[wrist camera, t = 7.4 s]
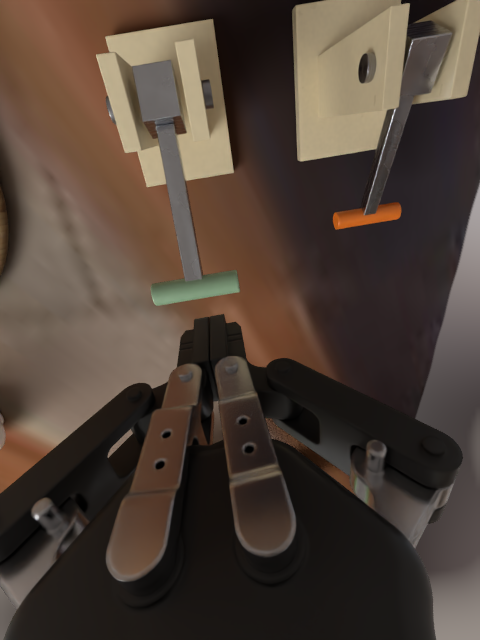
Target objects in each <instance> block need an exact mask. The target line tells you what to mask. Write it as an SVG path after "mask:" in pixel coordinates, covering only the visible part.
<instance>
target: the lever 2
mask: <svg viewBox="0 0 480 640" xmlns="http://www.w3.org/2000/svg"><path fill="white" fill-rule="evenodd" d="M451 36H452V32H450V31H449V30H447V29H445V28H444V27H442V26H440V25H438V24H437V23H435V22H433V21H431V20H430V21H424V22H418V23H412V24H408V26H407V36H406V45H405V54H404V63H403V72H402V82H401V91H400V100H399V107H398V108H395V109H388V110H387V112H386V115H385V119H384V123H383V126H382V130H381V134H380V137H379V141H378V145H377V148H376V152H375V156H374V159H373V163H372V167H371V170H370V174H369V177H368V181H367V185H366V188H365V192H364V196H363V199H362V203H361V207H360V208H359V209H353V210H347V211H341V212H335V213H334V216H333V223H334V227H335V229H341V228H347V227H353V226H359V225H365V224H371V223H377V222H383V221H389V220H395V219H398V218H399V217H400V215H401V206H400V204H399V203H398V202H395V203H389V204H383V205H379V202H380V199H381V196H382V193H383V190H384V187H385V184H386V181H387V178H388V175H389V172H390V169H391V166H392V163H393V160H394V157H395V154H396V151H397V148H398V145H399V142H400V139H401V136H402V132H403V129H404V126H405V123H406V120H407V117H408V114H409V111H410V108H411V105H412V102H413V99H414V96H416V95H422V94H428V93H431V91H432V88H433V86H434V83H435V80H436V78H437V75H438V72H439V69H440V67H441V64H442V61H443V58H444V56H445V53H446V50H447V47H448V45H449V42H450V39H451Z"/></svg>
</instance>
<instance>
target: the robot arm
mask: <svg viewBox="0 0 480 640" xmlns="http://www.w3.org/2000/svg"><path fill="white" fill-rule="evenodd" d="M179 350H180V351H179V356H178V364H177V368H176V369H174V370H173V371H172V372H171V374H170V377H169V380H168V382H167V383H165V384H163V385H161V386H158V387H156V388H153V389H151V387H150V385H148V384H146V383H137V384H133V385H131V386H129V387H127V388H126V389H124V390H123V391H122V392H121V393H119V394H118V395H117V396H116V397H115V398H113V399H112V400H111V401H110V402H109V403H108V404H106V405H105V406H104V407H103V408H102V409H100V410H99V411H98V412H97V413H96V414H94V415H93V416H92V417H91V418H90V419H89V420H87V421H86V422H85V423H84V424H83V425H81V426H80V427H79V428H78V429H77V430H75V431H74V432H73V433H72V434H71V435H70V436H68V437H67V438H66V439H65V440H64V441H62V442H61V443H60V444H59V445H58V446H56V447H55V448H54V449H53V450H52V451H51V452H49V453H48V454H47V455H46V456H45V457H43V458H42V459H41V460H40V461H39V462H38V463H36V464H35V465H34V466H33V467H32V468H30V469H29V470H28V471H27V472H26V473H24V474H23V475H22V476H21V477H20V478H19V479H17V480H16V481H15V482H14V483H13V484H11V485H10V486H9V487H8V488H7V489H5V490H4V491H3V492H2V493H1V494H0V587H1V588H2V589H3V591H4V593H5V594H6V595H7V597H8V598H9V600H10V602H11V603H12V605H13V606H14V607H15V609H16V610H17V611H16V613H15V615H14V616H13V618H12V621H11V623H10V625H9V627H8V629H7V632H6V634H5V637H4V640H436V636H435V630H434V622H433V597H432V589H431V584H430V581H429V577H428V574H427V571H426V569H425V567H424V564H423V562H422V560H421V558H420V556H419V554H418V553H417V551H416V550H415V547H416V545H417V543H418V541H419V539H420V537H421V535H422V533H423V531H424V529H425V527H426V525H427V524H430V523H434V522H436V521H438V520H439V519H440V518H441V516H442V514H443V511H444V508H445V506H446V503H447V500H448V498H449V495H450V492H451V490H452V487H453V484H454V482H455V479H456V476H457V474H458V471H459V468H460V465H461V462H462V459H463V457H462V451H461V449H460V447H459V446H458V444H457V443H456V442H455V441H454V440H453V439H452V438H451V437H449V436H448V435H446V434H445V433H443V432H441V431H439V430H437V429H434V428H432V427H430V426H428V425H426V424H424V423H422V422H420V421H418V420H416V419H414V418H412V417H410V416H408V415H406V414H404V413H401V412H399V411H397V410H395V409H393V408H391V407H389V406H387V405H385V404H383V403H381V402H379V401H377V400H375V399H373V398H370V397H368V396H366V395H364V394H362V393H360V392H358V391H356V390H354V389H352V388H350V387H348V386H346V385H344V384H342V383H340V382H337V381H335V380H333V379H331V378H329V377H327V376H325V375H323V374H321V373H319V372H317V371H315V370H313V369H311V368H309V367H306V366H304V365H302V364H300V363H298V362H296V361H294V360H292V359H287V358H280V359H276V360H274V361H272V362H270V363H269V364H268V365H267V367H257V366H254V365H252V364H250V363H249V362H248V361H247V359H246V353H245V348H244V342H243V337H242V331H241V326H239V325H238V324H237V323H236V322H232V323H226V321H225V316H224V314H222V315H216V316H210V318H209V317H205V318H199V319H195V320H194V329H193V330H187V331H185V333H184V334H183V335H182V337H181V341H180V348H179ZM214 401H218V404H219V411H220V418H221V425H222V432H223V439H224V440H222V441H220V442H217V443H215V444H213V429H214V412H213V402H214ZM265 418H272V419H273V422H274V423H275V424H276V425H277V426H278V427H280V428H281V429H283V430H284V431H285V432H287V433H288V434H290V435H291V436H293V437H294V438H296V439H297V440H298V441H300V442H301V443H303V444H304V445H306V446H307V447H308V448H310V449H311V450H313V451H314V452H316V453H317V454H319V455H320V456H321V457H323V458H324V459H326V460H327V461H329V462H330V463H332V464H333V465H334V466H336V467H337V468H339V469H340V470H342V471H343V472H344V473H346V474H347V475H349V476H350V478H349V479H350V486H351V488H352V490H353V492H354V493H355V494H356V496H355V495H354V494H353V493H351V492H350V491H349V490H348V489H346V488H345V487H344V486H343V485H341V484H340V483H339V482H337V481H336V480H335V479H334V478H332V477H331V476H330V475H328V474H327V473H326V472H325V471H323V470H322V469H321V468H319V467H318V466H317V465H316V464H314V463H313V462H312V461H310V460H309V459H308V458H307V457H305V456H304V455H303V454H301V453H300V452H299V451H298V450H296V449H295V448H293V447H292V446H290V445H288V444H286V443H284V442H281V441H278V440H274V439H271V437H270V433H269V430H268V427H267V423H266V420H265ZM130 429H131V430H132V432H133V434H132V435H131V436H130V437H129V438H128V439H127V440H126V441H125V442H124V443H123V444H122V445H121V446H120V447H119V448H118V449H117V450H116V451H115V452H114V453H113V454H112V455H111V456H110V457H109V458H107V456H108V452H109V450H110V448H111V447H112V446H113V445H114V444H115V443H116V442H117V441H118V440H119V439H120V438H121V437H122V436H123V435H124V434H125V433H126V432H128V431H129V430H130ZM212 444H213V445H212ZM358 497H359V498H360V499H361V500H360V499H359V498H358Z"/></svg>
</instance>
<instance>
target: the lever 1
mask: <svg viewBox="0 0 480 640" xmlns="http://www.w3.org/2000/svg"><path fill="white" fill-rule="evenodd" d="M132 72H133V77H134V82H135V87H136V92H137V97H138V102H139V107H140V112H141V117H142V121H143V123H144V125H145V126H146V128H147V130H148V131H149V133H150V135H151V136H152V138H153V139H156V138H158V143H159V148H160V153H161V158H162V163H163V168H164V174H165V179H166V184H167V189H168V194H169V199H170V205H171V210H172V215H173V220H174V225H175V230H176V236H177V241H178V246H179V251H180V256H181V261H182V267H183V272H184V277H185V278H184V279H178V280H172V281H166V282H160V283H154V284H152V285H151V294H152V298H153V301H154V303H155V305H157V306H159V305H165V304H170V303H176V302H182V301H188V300H194V299H200V298H206V297H212V296H218V295H224V294H230V293H236V292H240V288H239V282H238V276H237V271H236V270H232V271H226V272H220V273H214V274H208V275H203V272H202V266H201V261H200V255H199V250H198V244H197V239H196V233H195V228H194V222H193V217H192V211H191V206H190V201H189V195H188V190H187V184H186V179H185V173H184V168H183V162H182V157H181V151H180V146H179V141H178V135H180V134H186V133H187V130H186V124H185V119H184V113H183V107H182V102H181V96H180V91H179V85H178V82H177V78H176V75H175V71H174V68H173V64H172V61H171V60H166V61H160V62H154V63H148V64H142V65H136V66H132Z"/></svg>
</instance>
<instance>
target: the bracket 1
mask: <svg viewBox="0 0 480 640" xmlns="http://www.w3.org/2000/svg"><path fill="white" fill-rule="evenodd" d="M105 38H106V42H107V45H108V49H109V53H103V54H97V55H96V57H97V60H98V64H99V67H100V71H101V74H102V77H103V81H104V84H105V87H106V91H107V94H108V96H107V97H106V105H107V109H108V112H109V115H110V117H111V119H112V121H113V123H114V124H117V128H118V131H119V134H120V138H121V141H122V144H123V148H124V151H125V153H129V152H135V151H137V153H138V156H139V160H140V163H141V167H142V171H143V174H144V178H145V181H146V185H147V187H151V186H157V185H163V184H166V179H165V174H164V168H163V163H162V158H161V153H160V148H159V143H158V138H156V139H153V138H152V136H151V135H150V133H149V131H148V130H147V128H146V126H145V125H144V123H143V121H142V117H141V112H140V107H139V102H138V97H137V92H136V87H135V82H134V77H133V72H132V66H136V65H142V64H148V63H154V62H160V61H166V60H171V61H172V64H173V68H174V71H175V75H176V78H177V82H178V85H179V91H180V96H181V102H182V107H183V113H184V119H185V124H186V130H187V133H186V134H180V135H178V141H179V146H180V151H181V157H182V162H183V168H184V173H185V179H186V181H187V180H193V179H199V178H205V177H211V176H217V175H223V174H229V173H234V169H233V162H232V155H231V147H230V140H229V133H228V125H227V118H226V111H225V104H224V96H223V89H222V82H221V74H220V67H219V60H218V53H217V45H216V38H215V31H214V23H213V19H208V20H202V21H196V22H190V23H184V24H178V25H172V26H166V27H160V28H154V29H148V30H142V31H136V32H130V33H124V34H117V35H111V36H106V37H105Z"/></svg>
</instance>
